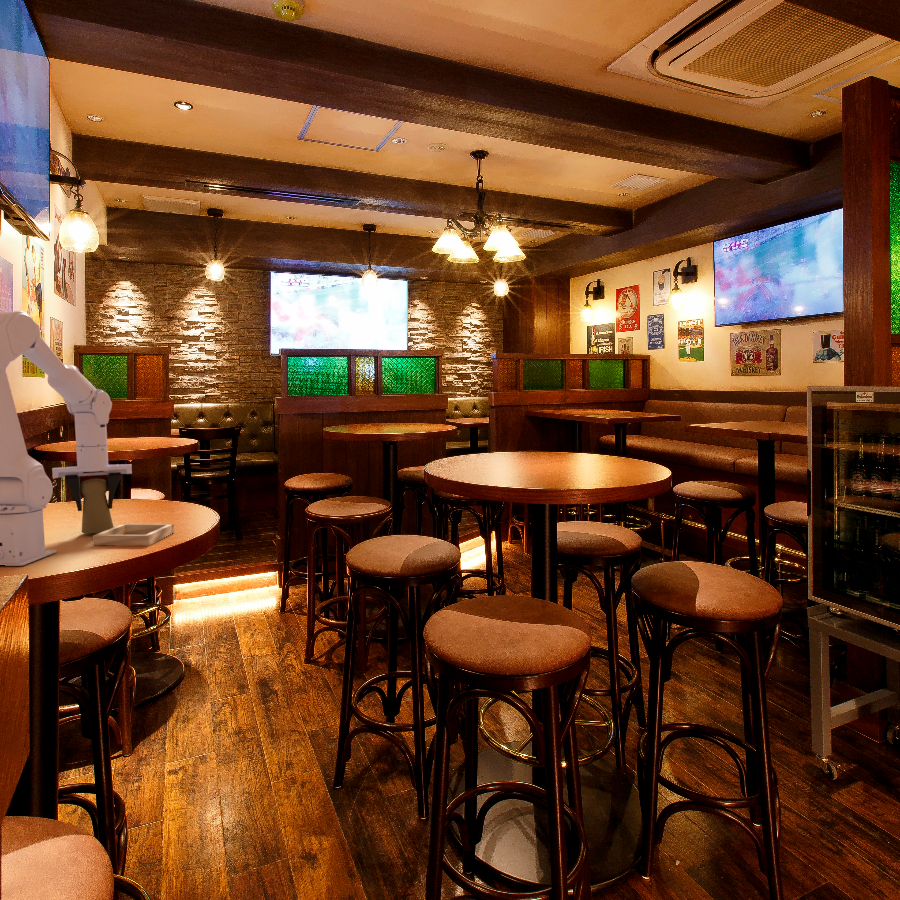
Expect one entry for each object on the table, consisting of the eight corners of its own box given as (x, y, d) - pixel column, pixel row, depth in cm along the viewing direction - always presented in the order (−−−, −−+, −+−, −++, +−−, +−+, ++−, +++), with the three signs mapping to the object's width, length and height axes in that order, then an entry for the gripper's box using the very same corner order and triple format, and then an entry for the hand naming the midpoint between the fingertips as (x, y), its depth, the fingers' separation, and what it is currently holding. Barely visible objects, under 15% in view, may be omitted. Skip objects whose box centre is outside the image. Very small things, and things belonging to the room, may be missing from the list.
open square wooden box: (148, 545, 122) (148, 535, 122) (93, 545, 122) (92, 535, 122) (174, 533, 133) (173, 523, 133) (123, 532, 133) (123, 523, 133)
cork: (77, 534, 129) (73, 482, 128) (85, 528, 134) (81, 478, 133) (110, 531, 130) (105, 480, 129) (116, 525, 136) (112, 476, 135)
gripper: (129, 443, 138) (132, 503, 139) (52, 445, 131) (56, 509, 132) (130, 445, 132) (133, 508, 133) (50, 448, 124) (54, 514, 126)
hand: (95, 509), depth 132 cm, fingers closed on cork, 5 cm apart
